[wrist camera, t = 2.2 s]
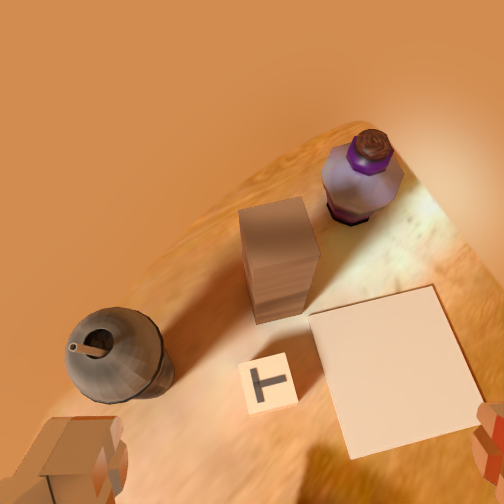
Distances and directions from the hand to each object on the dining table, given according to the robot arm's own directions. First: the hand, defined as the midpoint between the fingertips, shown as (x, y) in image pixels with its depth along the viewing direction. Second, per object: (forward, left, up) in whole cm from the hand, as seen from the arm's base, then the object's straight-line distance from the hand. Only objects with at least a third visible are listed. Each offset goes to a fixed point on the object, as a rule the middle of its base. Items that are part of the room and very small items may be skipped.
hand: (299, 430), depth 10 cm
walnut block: (+13, -4, -33) cm, 36 cm away
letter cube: (+4, -1, -33) cm, 34 cm away
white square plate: (+3, -14, -33) cm, 36 cm away
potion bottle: (+22, -16, -34) cm, 43 cm away
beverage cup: (+8, +10, -34) cm, 36 cm away
